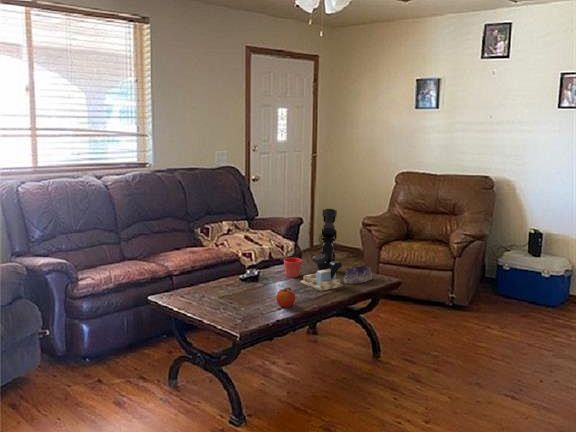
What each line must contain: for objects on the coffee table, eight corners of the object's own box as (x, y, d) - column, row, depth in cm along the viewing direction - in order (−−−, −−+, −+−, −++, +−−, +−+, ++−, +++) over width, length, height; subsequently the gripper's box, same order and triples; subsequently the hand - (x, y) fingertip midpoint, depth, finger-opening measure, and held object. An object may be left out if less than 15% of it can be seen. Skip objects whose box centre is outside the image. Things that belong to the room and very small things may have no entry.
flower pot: (280, 277, 346) (281, 260, 344) (286, 272, 357) (286, 256, 355) (298, 279, 343) (298, 263, 341) (303, 274, 354) (304, 258, 352)
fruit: (286, 301, 303) (286, 282, 301) (298, 306, 296) (299, 287, 294) (271, 305, 297) (272, 286, 295) (284, 310, 290) (285, 290, 288)
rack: (322, 278, 347) (322, 271, 346) (342, 286, 333) (343, 279, 332) (300, 282, 337) (300, 275, 337) (321, 290, 323) (321, 283, 323)
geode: (355, 287, 333) (354, 269, 332) (339, 285, 341) (338, 268, 340) (376, 279, 348) (375, 262, 347) (360, 277, 356) (358, 260, 355)
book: (330, 281, 337) (331, 268, 336) (335, 283, 334) (336, 269, 333) (315, 284, 330) (316, 270, 329) (320, 286, 327) (321, 272, 326)
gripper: (305, 247, 331) (304, 274, 334) (327, 254, 316) (326, 283, 319) (321, 245, 338) (319, 271, 340) (343, 252, 323) (341, 280, 326)
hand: (326, 276), depth 331 cm, fingers open, 9 cm apart
